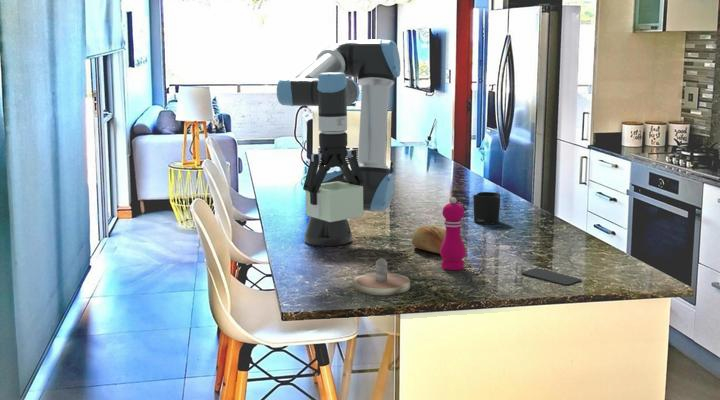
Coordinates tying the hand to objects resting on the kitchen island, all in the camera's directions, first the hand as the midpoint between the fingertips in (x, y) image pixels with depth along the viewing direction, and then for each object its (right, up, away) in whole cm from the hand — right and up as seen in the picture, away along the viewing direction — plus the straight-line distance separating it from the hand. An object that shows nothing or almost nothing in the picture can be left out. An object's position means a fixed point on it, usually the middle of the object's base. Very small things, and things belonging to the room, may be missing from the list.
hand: (334, 213), depth 212 cm
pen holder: (+52, -4, +67) cm, 85 cm away
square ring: (0, -1, 0) cm, 1 cm away
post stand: (+12, -19, -7) cm, 24 cm away
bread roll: (+29, -12, +28) cm, 42 cm away
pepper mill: (+33, -16, +10) cm, 38 cm away
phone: (+58, -18, -1) cm, 61 cm away
